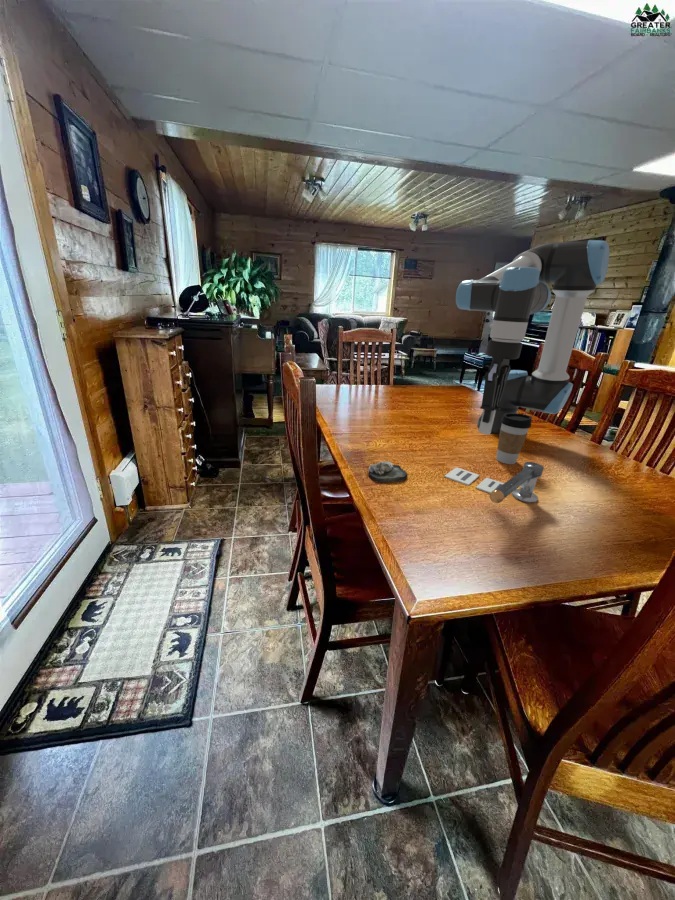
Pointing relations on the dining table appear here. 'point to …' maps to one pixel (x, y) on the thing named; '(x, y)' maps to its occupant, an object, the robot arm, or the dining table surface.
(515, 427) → the coffee cup
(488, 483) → the label
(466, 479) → the label
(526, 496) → the post
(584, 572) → the dining table surface
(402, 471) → the dark grey lumpy mound
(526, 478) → the swing arm
